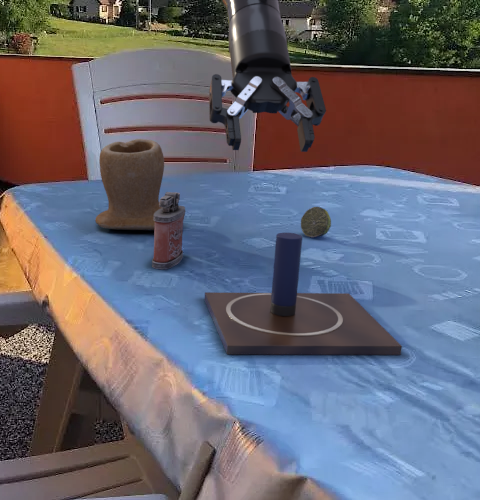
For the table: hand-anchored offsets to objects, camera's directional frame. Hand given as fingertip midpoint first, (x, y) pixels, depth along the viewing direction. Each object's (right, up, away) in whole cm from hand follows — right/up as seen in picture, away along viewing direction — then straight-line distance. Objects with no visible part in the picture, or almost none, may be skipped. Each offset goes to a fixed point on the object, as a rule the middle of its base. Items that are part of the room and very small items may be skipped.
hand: (271, 147), depth 86 cm
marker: (0, -20, -6) cm, 20 cm away
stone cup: (-16, -9, +33) cm, 38 cm away
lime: (+13, -10, +32) cm, 36 cm away
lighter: (-12, -14, +16) cm, 25 cm away
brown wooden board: (+1, -21, -6) cm, 22 cm away
